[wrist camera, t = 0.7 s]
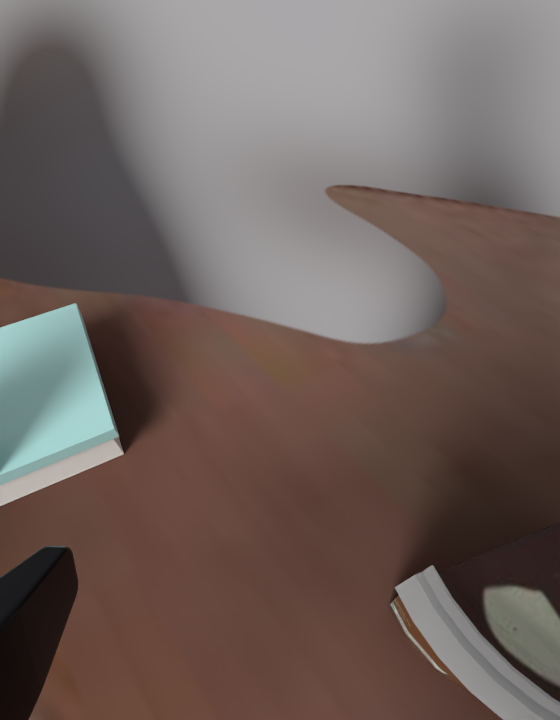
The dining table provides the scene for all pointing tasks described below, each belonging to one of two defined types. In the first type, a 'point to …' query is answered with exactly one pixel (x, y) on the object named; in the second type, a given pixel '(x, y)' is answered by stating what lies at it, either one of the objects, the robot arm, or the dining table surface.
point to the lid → (49, 393)
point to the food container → (493, 624)
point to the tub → (60, 470)
